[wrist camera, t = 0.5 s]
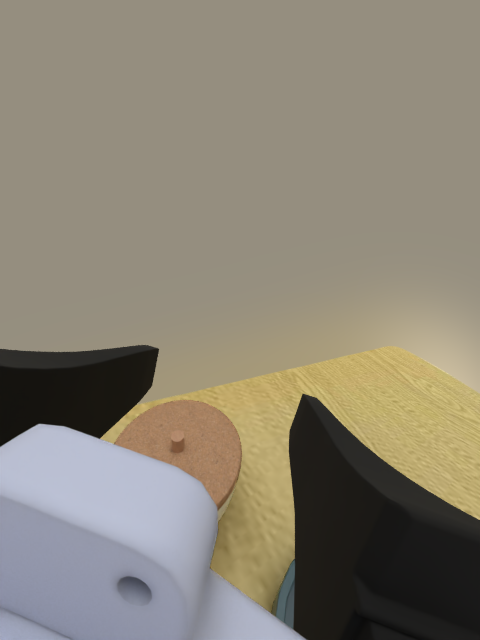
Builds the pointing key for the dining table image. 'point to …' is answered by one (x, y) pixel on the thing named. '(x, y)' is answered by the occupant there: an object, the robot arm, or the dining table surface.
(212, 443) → the trinket box
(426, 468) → the dining table surface
